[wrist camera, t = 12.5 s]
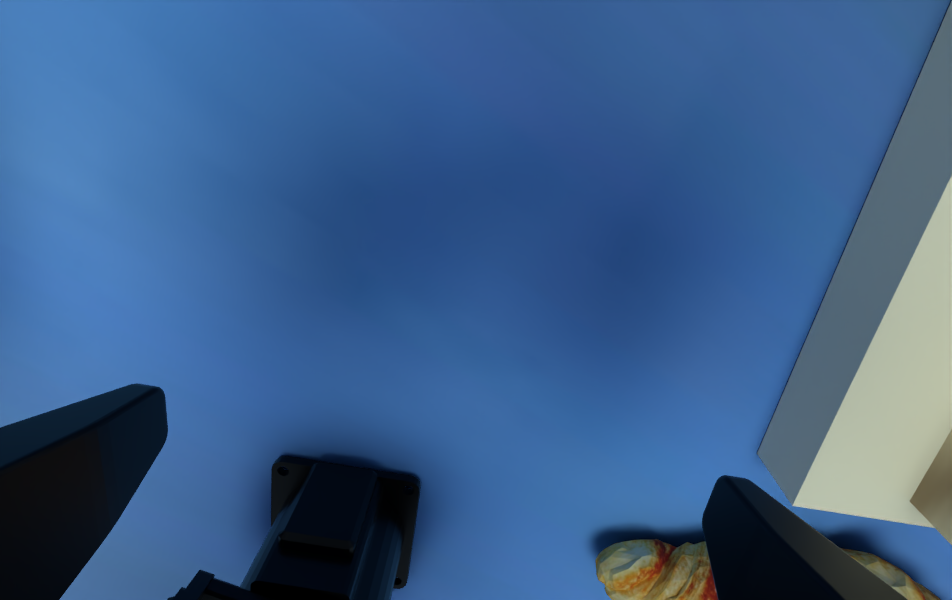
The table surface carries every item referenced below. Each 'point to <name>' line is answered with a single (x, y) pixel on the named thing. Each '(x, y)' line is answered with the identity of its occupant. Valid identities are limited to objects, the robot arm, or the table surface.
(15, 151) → the table surface
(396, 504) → the robot arm
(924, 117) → the dock
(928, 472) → the wooden block
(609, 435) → the table surface
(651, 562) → the croissant
